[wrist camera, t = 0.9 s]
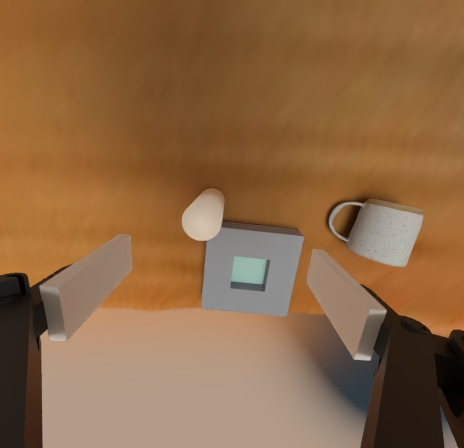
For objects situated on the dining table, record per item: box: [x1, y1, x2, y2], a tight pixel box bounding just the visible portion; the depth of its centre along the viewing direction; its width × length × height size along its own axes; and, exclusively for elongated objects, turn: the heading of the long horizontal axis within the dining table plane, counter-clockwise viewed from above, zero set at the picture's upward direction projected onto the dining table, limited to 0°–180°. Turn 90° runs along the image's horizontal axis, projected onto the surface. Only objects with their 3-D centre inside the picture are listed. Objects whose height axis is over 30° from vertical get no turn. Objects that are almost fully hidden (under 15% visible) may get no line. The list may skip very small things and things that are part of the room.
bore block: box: [201, 221, 304, 317], centre depth 34 cm, size 14×14×4 cm
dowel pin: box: [182, 188, 225, 241], centre depth 27 cm, size 4×4×12 cm
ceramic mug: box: [329, 198, 424, 267], centre depth 30 cm, size 11×8×8 cm
